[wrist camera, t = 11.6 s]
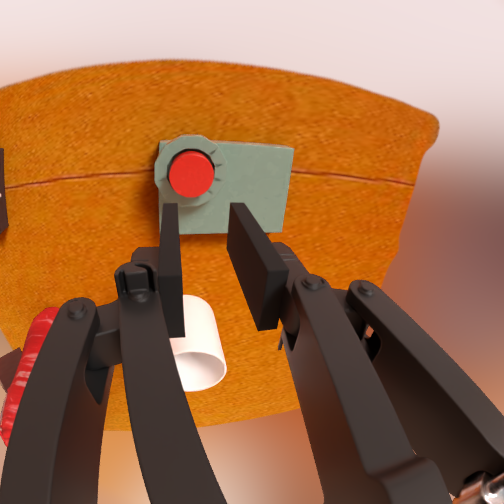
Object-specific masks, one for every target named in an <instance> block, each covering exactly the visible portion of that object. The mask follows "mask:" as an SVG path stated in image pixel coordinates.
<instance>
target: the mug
mask: <svg viewBox="0 0 504 504" xmlns="http://www.w3.org/2000/svg"><path fill="white" fill-rule="evenodd" d="M183 306H184V322H185V337H184V338H169V339H170V343H171V347H172V351H173V354H174V358H175V362H176V365H177V369H178V372H179V376H180V379H181V382H182V386H183V389H184V391H199V390H204V389H207V388H210V387H212V386H214V385H216V384H217V383H218V382H220V381H221V380H222V379H223V377H224V376H225V374H226V369H227V368H226V363H225V359H224V355H223V351H222V347H221V343H220V338H219V334H218V330H217V326H216V321H215V317H214V314H213V311H212V309H211V307H210V306H209V304H208V303H207V302H205V301H204V300H203V299H201V298H199V297H196V296H192V295H183Z"/></svg>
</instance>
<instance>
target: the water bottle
mask: <svg viewBox="0 0 504 504" xmlns="http://www.w3.org/2000/svg"><path fill="white" fill-rule="evenodd" d="M59 309H60V308H57V307H49V308H45V309H44V310H43V311H42V312H41V313H40V314H38V315H37V316H36V317H35V318H34V320H33V322H32V324H31V326H30V329H29V331H28V334H27V337H26V341H25V344H24V348H23V351H22V352H21V349H20V347H19V348H17V349H15V350H14V351H12V352H10V353H8V354H6V355H4V356H3V357H1V358H0V384H1V386H2V387H3V389H4V390H5V392H6V393H7V394H6V397H5V400H4V403H3V407H2V411H1V415H0V436H1V437H2V439H3V441H4V443H5V445H6V446H7V447H8V442H9V438H10V434H11V430H12V427H13V423H14V420H15V416H16V413H17V410H18V406H19V403H20V400H21V397H22V394H23V391H24V389H25V386H26V383H27V380H28V378H29V375H30V373H31V370H32V368H33V365H34V363H35V360H36V358H37V355H38V353H39V351H40V348H41V346H42V344H43V342H44V340H45V337H46V335H47V333H48V331H49V329H50V327H51V325H52V323H53V321H54V319H55V317H56V315H57V313H58V311H59ZM2 417H3V418H2ZM1 422H2V425H1Z"/></svg>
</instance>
